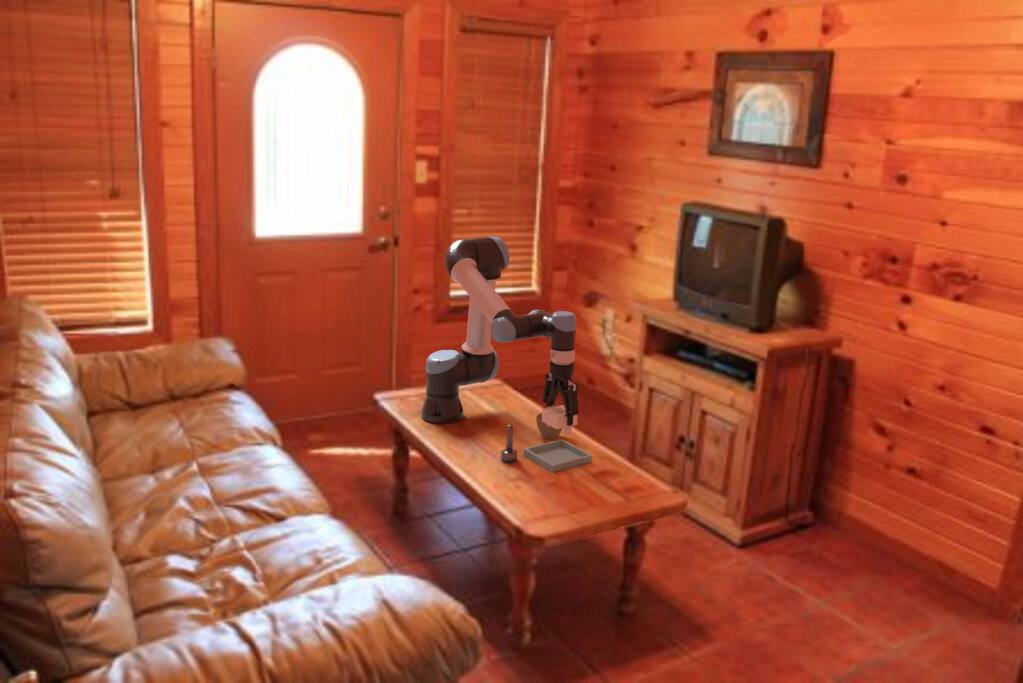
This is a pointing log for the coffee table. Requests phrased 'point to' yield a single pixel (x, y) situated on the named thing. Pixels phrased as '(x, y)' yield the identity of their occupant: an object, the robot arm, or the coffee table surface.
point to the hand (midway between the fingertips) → (559, 429)
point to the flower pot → (547, 429)
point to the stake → (509, 447)
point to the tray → (557, 455)
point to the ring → (556, 416)
